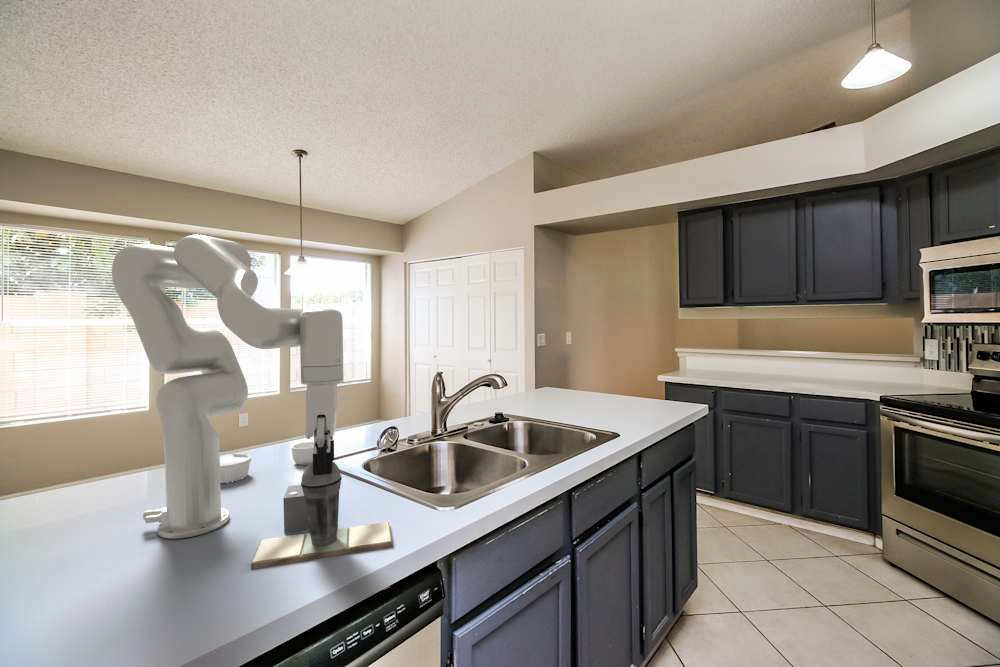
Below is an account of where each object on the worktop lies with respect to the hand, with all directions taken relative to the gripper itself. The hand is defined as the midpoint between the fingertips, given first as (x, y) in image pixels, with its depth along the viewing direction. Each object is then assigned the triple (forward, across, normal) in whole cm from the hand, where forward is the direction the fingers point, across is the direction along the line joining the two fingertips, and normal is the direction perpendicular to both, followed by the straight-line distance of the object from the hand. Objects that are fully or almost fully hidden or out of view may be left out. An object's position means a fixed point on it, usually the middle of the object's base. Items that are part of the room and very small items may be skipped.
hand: (324, 466), depth 86 cm
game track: (+15, 0, 0) cm, 15 cm away
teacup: (+16, -56, -8) cm, 59 cm away
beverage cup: (+14, 0, 0) cm, 14 cm away
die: (+15, -12, -5) cm, 20 cm away
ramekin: (+16, -48, -28) cm, 58 cm away
